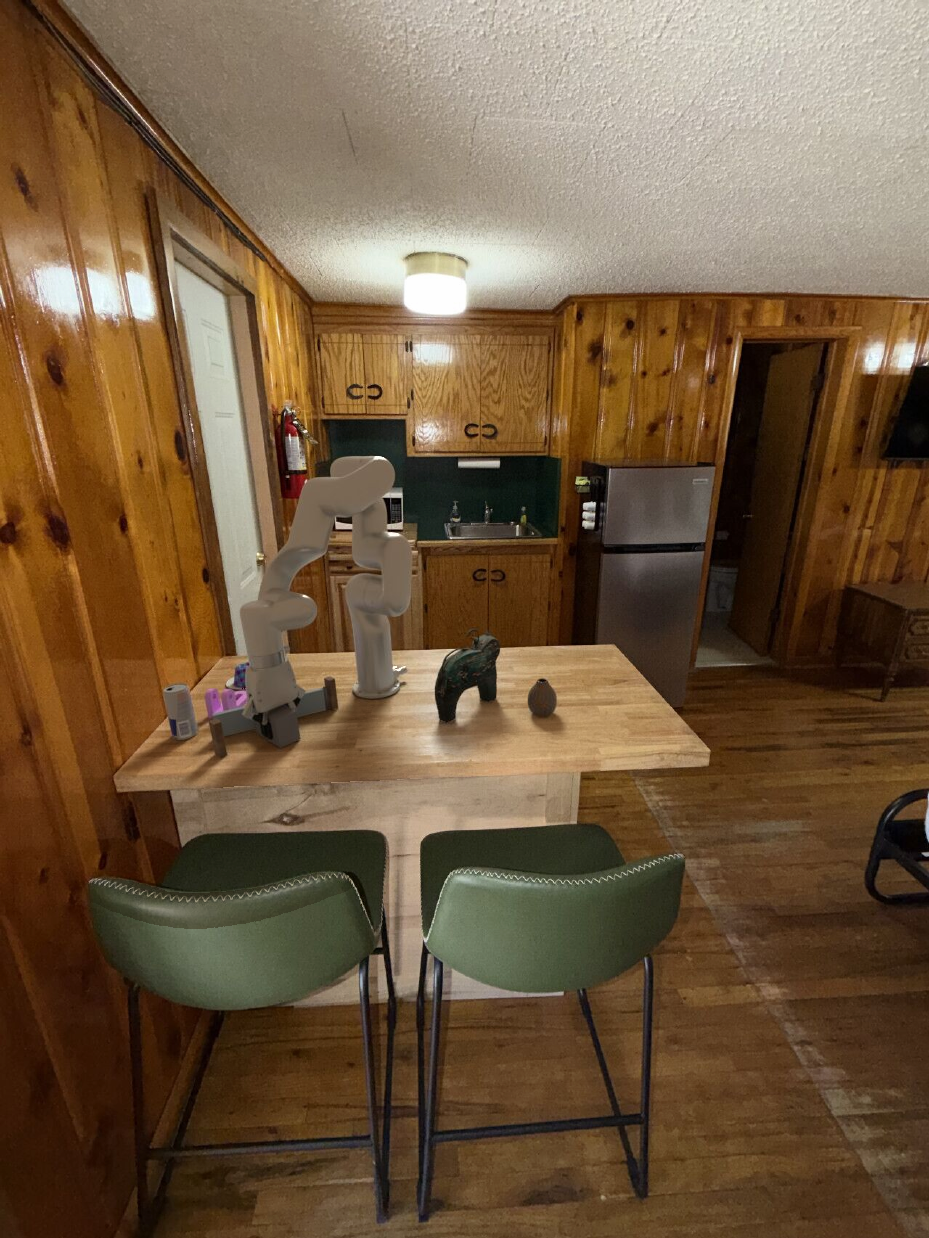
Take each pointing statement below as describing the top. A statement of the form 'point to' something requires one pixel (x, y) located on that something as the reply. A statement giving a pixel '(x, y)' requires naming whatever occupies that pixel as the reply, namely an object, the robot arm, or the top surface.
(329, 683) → the frame
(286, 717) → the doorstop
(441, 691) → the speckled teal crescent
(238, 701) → the bracket
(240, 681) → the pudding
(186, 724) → the energy drink
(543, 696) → the vase
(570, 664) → the top surface
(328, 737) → the top surface
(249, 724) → the grey long flat board
